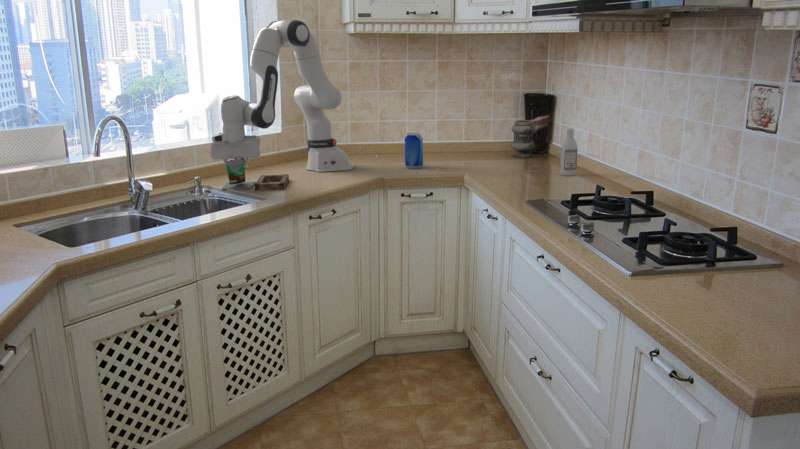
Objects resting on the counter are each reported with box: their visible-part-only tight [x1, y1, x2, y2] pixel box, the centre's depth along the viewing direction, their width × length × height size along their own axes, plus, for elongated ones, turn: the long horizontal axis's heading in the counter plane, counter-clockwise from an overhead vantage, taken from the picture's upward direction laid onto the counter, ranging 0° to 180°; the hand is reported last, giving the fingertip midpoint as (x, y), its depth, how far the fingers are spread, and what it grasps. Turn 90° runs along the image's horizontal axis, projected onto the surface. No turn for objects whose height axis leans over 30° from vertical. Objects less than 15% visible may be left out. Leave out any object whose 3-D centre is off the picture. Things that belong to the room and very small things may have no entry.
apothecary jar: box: [510, 119, 536, 159], centre depth 323 cm, size 12×12×18 cm
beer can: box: [404, 132, 424, 170], centre depth 302 cm, size 8×8×16 cm
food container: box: [225, 158, 246, 184], centre depth 270 cm, size 12×6×10 cm, turn 175°
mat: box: [221, 181, 256, 191], centre depth 272 cm, size 12×12×1 cm
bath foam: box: [559, 128, 579, 177], centre depth 279 cm, size 7×7×20 cm
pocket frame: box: [254, 173, 290, 191], centre depth 274 cm, size 12×18×2 cm, turn 3°
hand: (237, 168), depth 270 cm, fingers closed on food container, 5 cm apart
